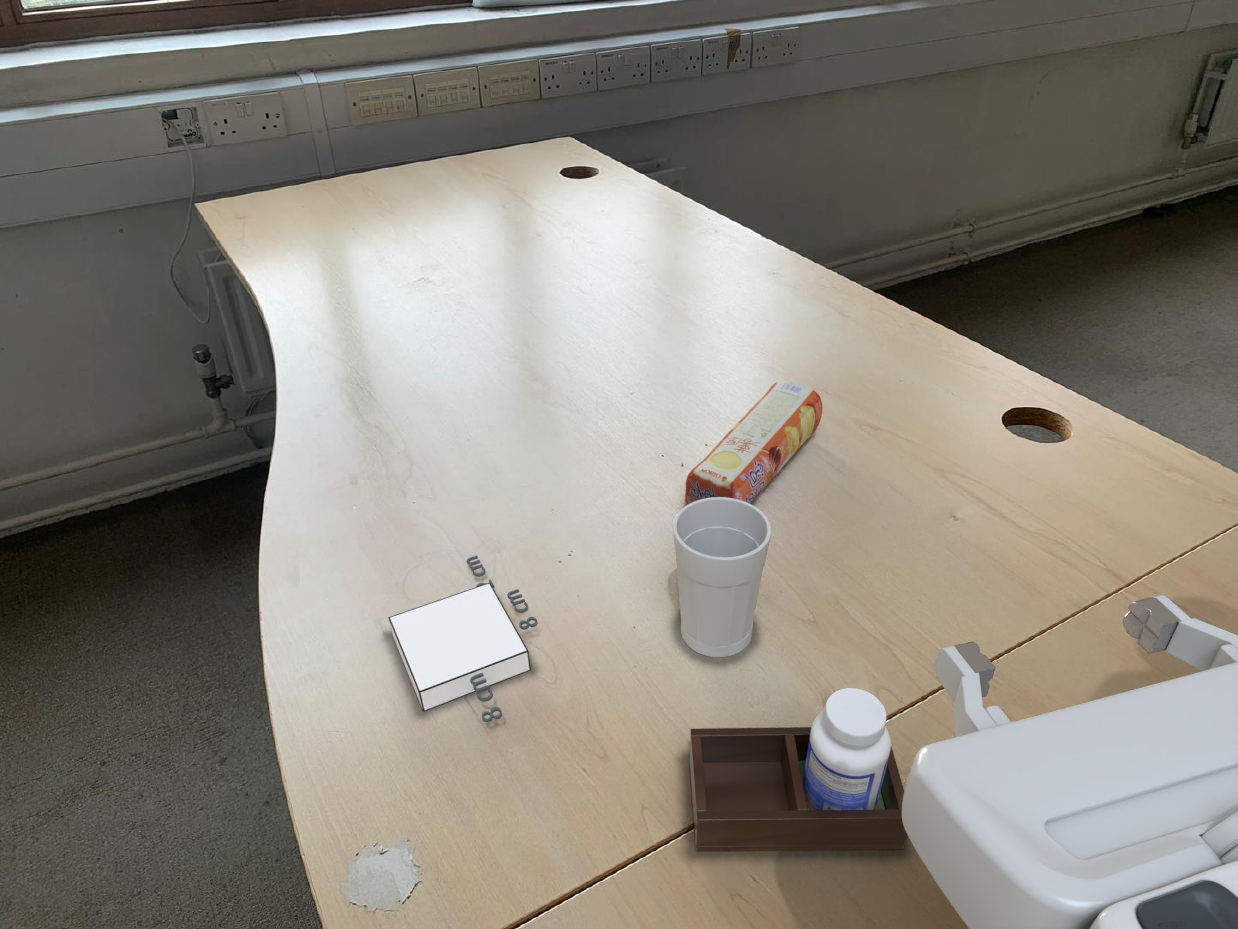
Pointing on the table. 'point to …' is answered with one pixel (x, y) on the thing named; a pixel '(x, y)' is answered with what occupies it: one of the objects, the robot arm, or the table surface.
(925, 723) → the table surface
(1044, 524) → the table surface
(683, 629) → the cup
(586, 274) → the table surface
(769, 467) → the snack package
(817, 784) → the pill bottle
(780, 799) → the tray
